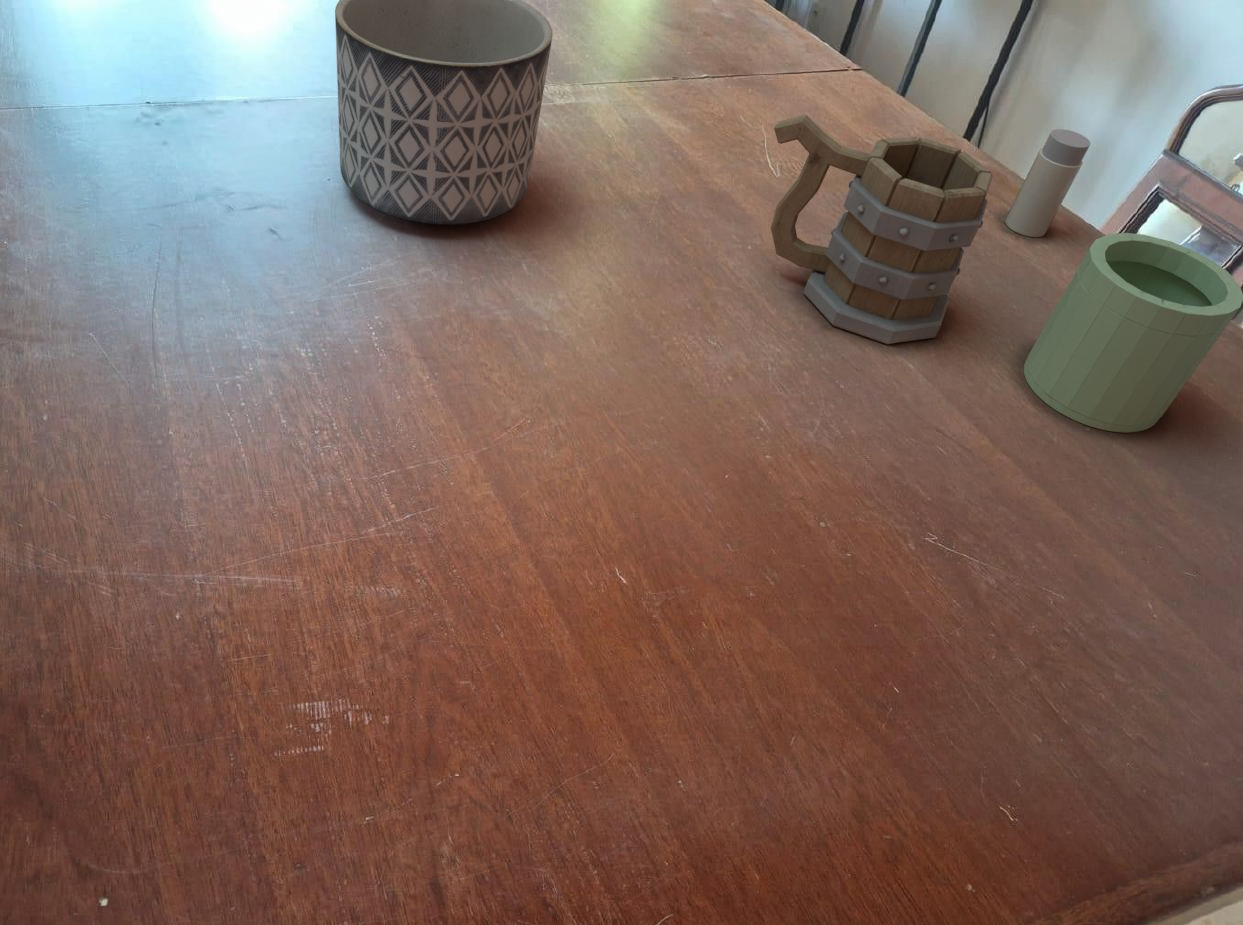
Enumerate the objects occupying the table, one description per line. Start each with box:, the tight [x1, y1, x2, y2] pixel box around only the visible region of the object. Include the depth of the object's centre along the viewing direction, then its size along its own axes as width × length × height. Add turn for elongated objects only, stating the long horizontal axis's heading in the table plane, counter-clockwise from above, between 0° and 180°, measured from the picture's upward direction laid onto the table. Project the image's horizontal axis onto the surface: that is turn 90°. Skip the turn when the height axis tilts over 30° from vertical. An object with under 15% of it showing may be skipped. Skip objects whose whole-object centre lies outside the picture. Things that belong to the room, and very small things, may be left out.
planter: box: [334, 0, 553, 225], centre depth 100 cm, size 19×19×16 cm
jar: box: [1023, 232, 1243, 434], centre depth 90 cm, size 12×12×12 cm
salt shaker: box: [1004, 128, 1091, 238], centre depth 111 cm, size 4×4×10 cm
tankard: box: [770, 114, 993, 345], centre depth 96 cm, size 20×13×15 cm, turn 65°
